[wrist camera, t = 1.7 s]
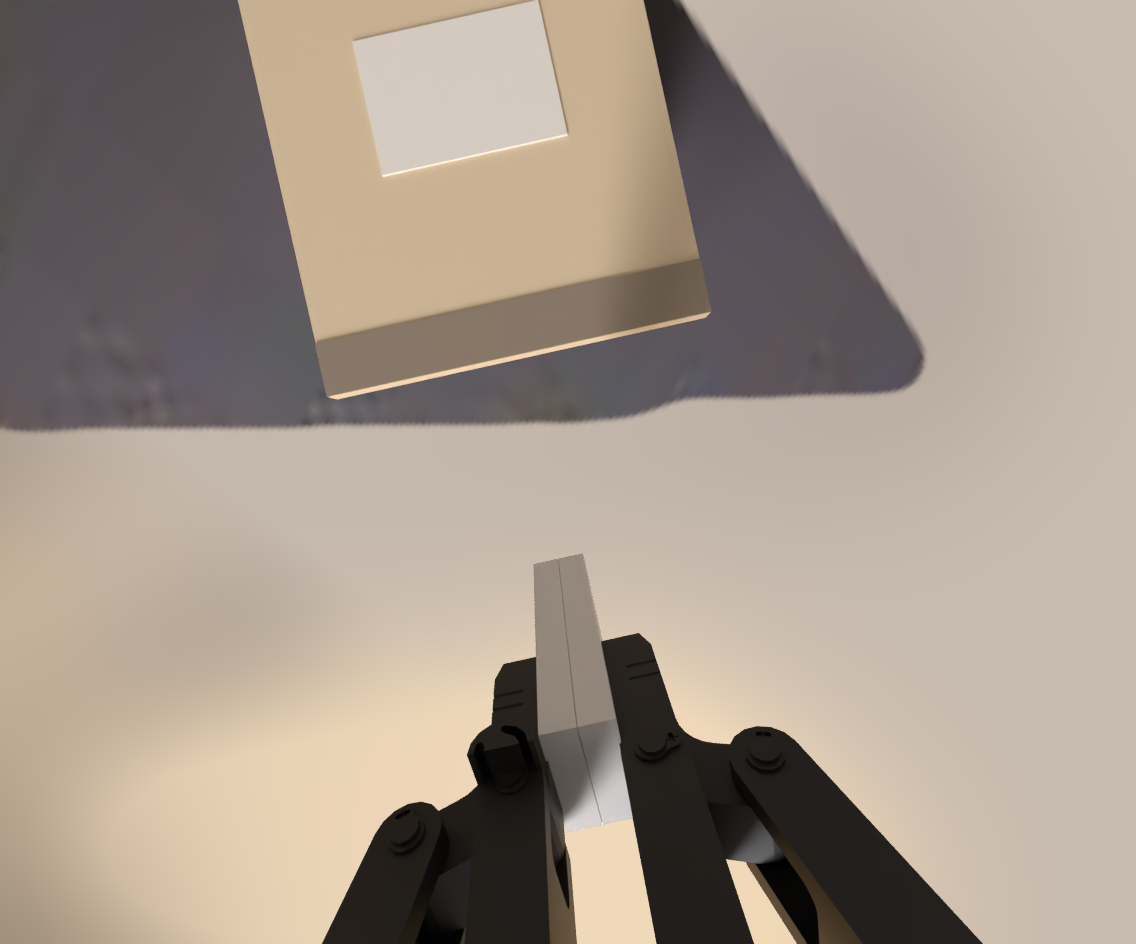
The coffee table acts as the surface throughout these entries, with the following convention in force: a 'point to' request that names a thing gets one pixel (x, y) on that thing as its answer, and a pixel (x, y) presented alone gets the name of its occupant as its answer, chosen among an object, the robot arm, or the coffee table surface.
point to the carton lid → (472, 180)
